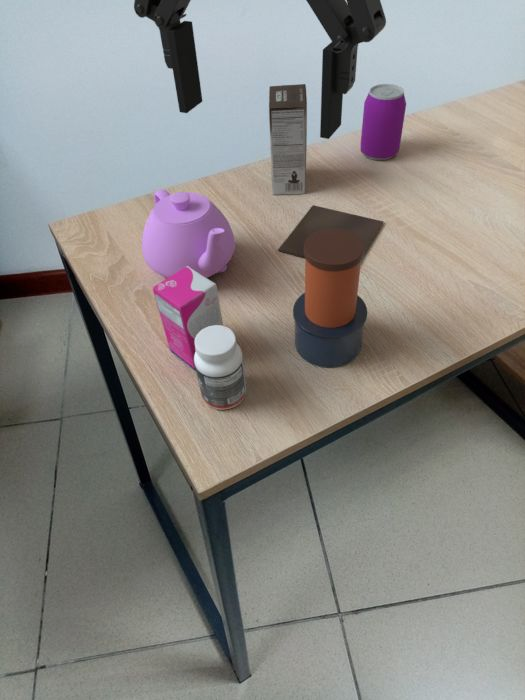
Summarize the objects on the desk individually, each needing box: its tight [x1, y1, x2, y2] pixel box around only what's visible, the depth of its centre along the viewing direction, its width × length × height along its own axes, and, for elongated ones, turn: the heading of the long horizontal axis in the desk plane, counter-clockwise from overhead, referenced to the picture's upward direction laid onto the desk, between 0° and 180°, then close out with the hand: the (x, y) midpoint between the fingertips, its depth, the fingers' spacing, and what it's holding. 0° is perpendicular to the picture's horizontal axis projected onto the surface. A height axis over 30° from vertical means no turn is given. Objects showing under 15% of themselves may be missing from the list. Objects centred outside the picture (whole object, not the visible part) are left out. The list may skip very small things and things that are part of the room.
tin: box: [292, 292, 368, 369], centre depth 69 cm, size 9×9×6 cm
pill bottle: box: [194, 325, 247, 411], centre depth 63 cm, size 6×6×10 cm
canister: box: [304, 228, 365, 328], centre depth 64 cm, size 7×7×10 cm
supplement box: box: [152, 266, 224, 372], centre depth 68 cm, size 6×6×12 cm
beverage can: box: [360, 83, 407, 161], centre depth 102 cm, size 8×8×12 cm
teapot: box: [141, 189, 236, 279], centre depth 79 cm, size 20×14×12 cm
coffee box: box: [268, 83, 308, 196], centre depth 94 cm, size 9×6×16 cm
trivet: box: [277, 204, 384, 259], centre depth 88 cm, size 13×14×1 cm
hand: (257, 118), depth 46 cm, fingers open, 13 cm apart
